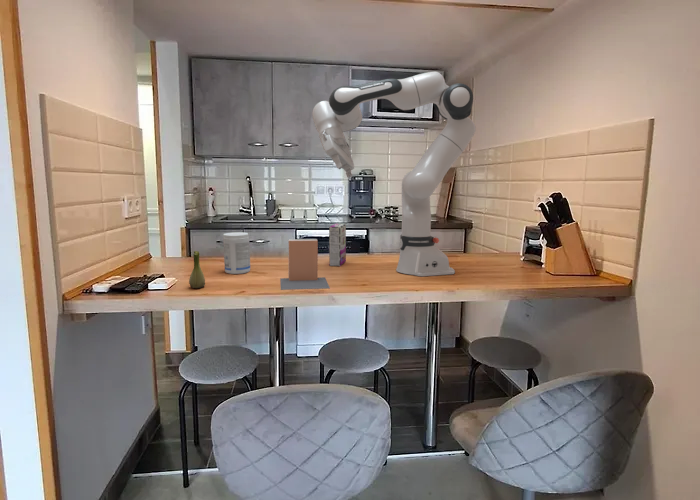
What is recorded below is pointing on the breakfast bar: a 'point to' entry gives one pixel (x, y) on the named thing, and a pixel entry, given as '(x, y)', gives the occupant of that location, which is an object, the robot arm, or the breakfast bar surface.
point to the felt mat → (304, 284)
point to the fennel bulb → (197, 273)
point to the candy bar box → (337, 244)
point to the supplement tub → (236, 252)
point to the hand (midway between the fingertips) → (345, 172)
